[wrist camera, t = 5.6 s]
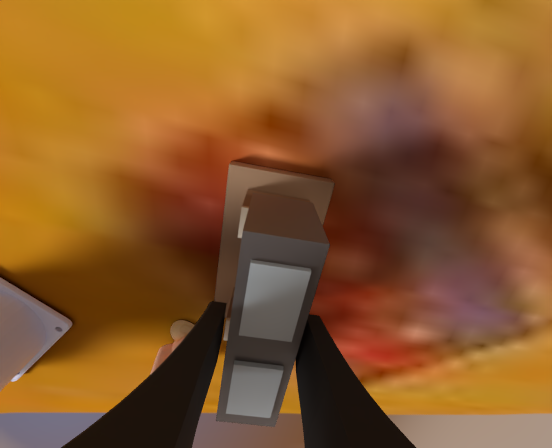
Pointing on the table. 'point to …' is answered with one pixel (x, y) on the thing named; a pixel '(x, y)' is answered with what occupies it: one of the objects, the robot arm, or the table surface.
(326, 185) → the stand
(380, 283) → the table surface
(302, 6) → the table surface
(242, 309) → the bar
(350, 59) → the table surface
